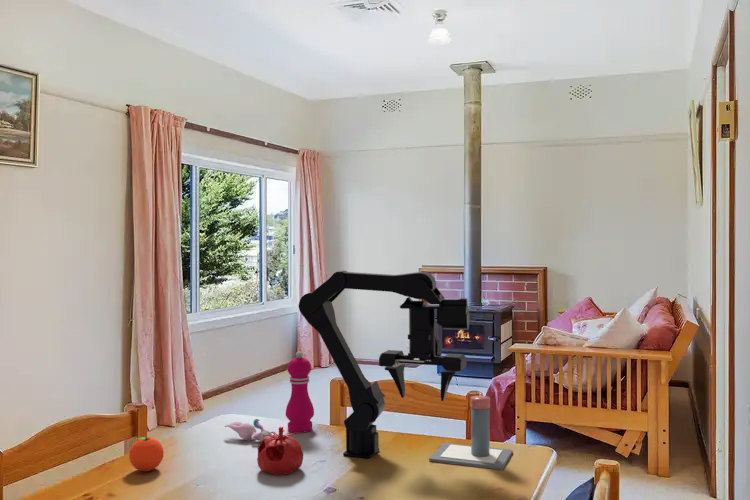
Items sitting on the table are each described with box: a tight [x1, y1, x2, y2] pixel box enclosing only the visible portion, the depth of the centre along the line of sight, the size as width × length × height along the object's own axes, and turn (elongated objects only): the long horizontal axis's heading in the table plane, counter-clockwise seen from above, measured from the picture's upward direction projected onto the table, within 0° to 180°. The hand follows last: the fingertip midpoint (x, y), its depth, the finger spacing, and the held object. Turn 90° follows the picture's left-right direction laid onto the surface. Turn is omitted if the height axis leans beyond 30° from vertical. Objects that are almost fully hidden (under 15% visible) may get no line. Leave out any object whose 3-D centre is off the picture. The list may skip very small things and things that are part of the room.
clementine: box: [129, 436, 164, 472], centre depth 144 cm, size 8×7×7 cm
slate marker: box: [470, 395, 491, 457], centre depth 150 cm, size 4×4×12 cm
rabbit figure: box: [224, 418, 274, 442], centre depth 164 cm, size 6×6×15 cm
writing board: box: [428, 442, 513, 471], centre depth 151 cm, size 16×12×1 cm
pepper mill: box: [285, 351, 315, 434], centre depth 173 cm, size 7×7×20 cm
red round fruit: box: [256, 426, 304, 476], centre depth 143 cm, size 10×10×9 cm
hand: (422, 399), depth 150 cm, fingers open, 9 cm apart
